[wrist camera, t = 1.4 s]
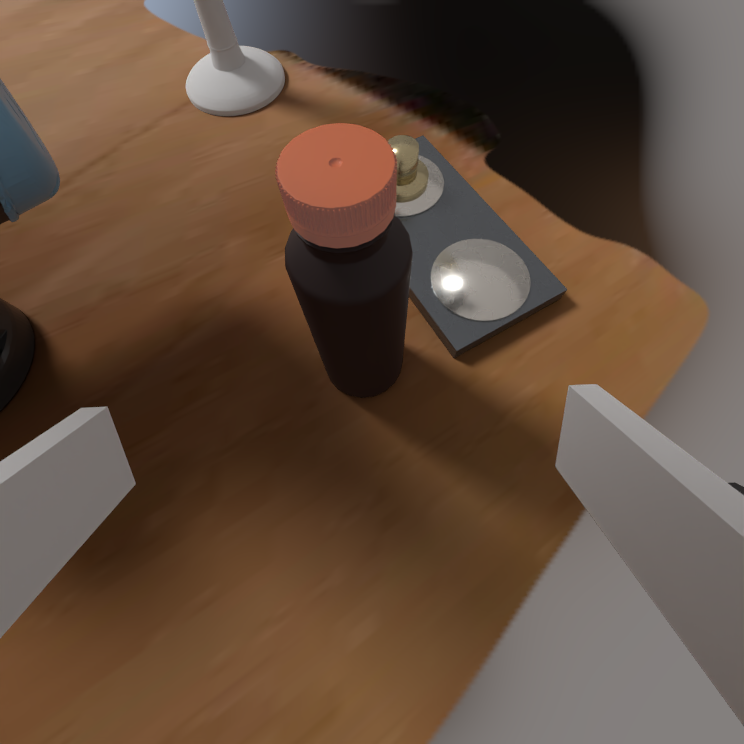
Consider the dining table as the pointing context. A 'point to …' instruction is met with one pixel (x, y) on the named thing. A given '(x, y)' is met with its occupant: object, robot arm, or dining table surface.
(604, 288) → the dining table surface
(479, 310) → the plate
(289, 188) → the vinegar
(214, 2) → the candlestick
